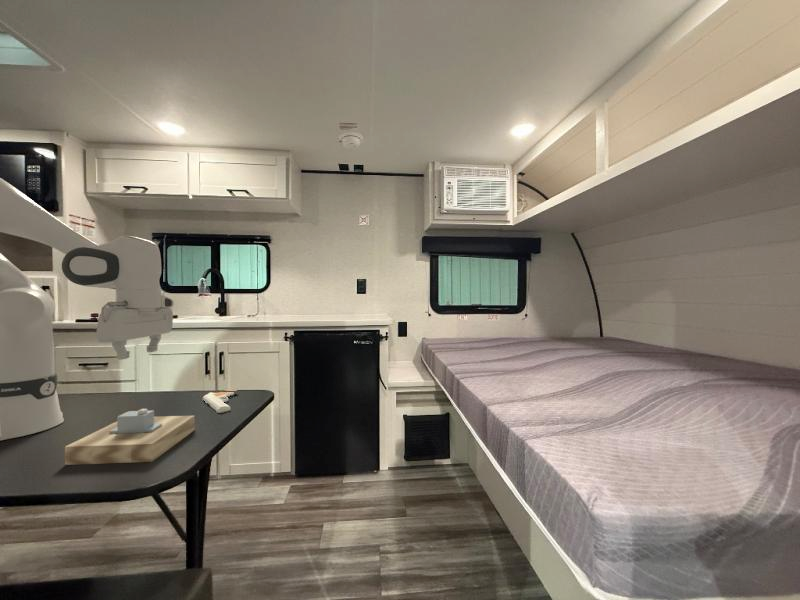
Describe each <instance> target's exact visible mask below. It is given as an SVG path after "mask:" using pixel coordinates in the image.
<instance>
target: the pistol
mask: <svg viewBox="0 0 800 600" xmlns="http://www.w3.org/2000/svg"><path fill="white" fill-rule="evenodd" d="M225 391H237V390H235V389H232V388H229V389H226V390H225ZM233 394H234V392H222V391H220V392H211V391H210V392H208V393H207V394H205V395H204V396H202V401H203V400H204V401H205V402H204V401H203V402H204V403H206V404H207V403H208V404H209V405H208V404H207V405H208V406H210V407H211V408H212V409H213V410H215V411H216V412H215V413H219V414H221V413H225V412H229V411H231V406H230V405H229V404H227V402H226V401H228V400H229V398H228V397H227V396H230V395H233ZM224 402H226V403H224ZM228 402H229V401H228Z"/></svg>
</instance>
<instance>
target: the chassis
mask: <svg viewBox="0 0 800 600" xmlns="http://www.w3.org/2000/svg"><path fill="white" fill-rule="evenodd" d="M195 417H196V416H195V415H167V416H166V415H165V416H154V424H160V423H162V426H161V427H159V428H158V429H156V430H155V431H153V432H147V433H133V434H118V433H110V434H109V431H110V430H112V429H114V428H116V427H117V421H114V422H112V423H110V424H109V425H106V426H105V427H103V428H100V429H98V430H96V431H94V432H92V433H90V434H88V435H86V436H84V437H81V438H80V439H78V440H76V441H74V442H71V443H70V444H66V446H64V465H65V466H69V465H70V466H71V465H72V466H73V465H95V464H96V465H97V464H98V465H99V464H124V463H125V464H126V463H149V462H151V463H152V462H154V461H155V460H157V459H158V458H159V457H161V456H162V455H163V454H164V453H166V452H167V451H168V450H170V449H171V448H173V447H174V446H175V445H177V444H178V443H179V442H181V441H183V439H184V438H186V437H187V436H189V435H190V434H191V433H193V432H194V431H195V429H196V428H195V427H196V425H195V423H196V421H195V420H196V419H195Z"/></svg>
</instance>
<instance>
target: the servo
mask: <svg viewBox="0 0 800 600" xmlns="http://www.w3.org/2000/svg"><path fill="white" fill-rule="evenodd" d="M154 417H155V410H148V408H140V409H139V410H129V411H126V412H124V413H122V414H119V415H118V416H117V417H116V418H117V421H116V422H117V427H116V428H114V429H112V430H110V431H109V434H110V433H118V434H133V433H147V432H153V431H155V430H156V429H158V428H159V427H161V426H162V423H160V424H154Z"/></svg>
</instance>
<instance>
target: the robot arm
mask: <svg viewBox="0 0 800 600" xmlns="http://www.w3.org/2000/svg"><path fill="white" fill-rule="evenodd" d="M0 233H3V234H6V235H12V236H15V237H20V238H24V239H26V240H31V241H34V242H38V243H41V244H43V245H46V246H49V247H51V248H53V249H55V250H57V251H59V252H61V253H62V254H63V255H64V256H63V258H62V260H61V270H62V273H63V275H64V276H65V278H66V279H67V280H68V281H70V282H71V283H73V284H75V285H80V286H82V287H89V288H100V289H101V288H104V289H112V290H115V301H109V302H106V304H104V305H103V306H102V307H101V311H100V313H99V314H98V315H99V316H98V318H97V319H98V320H97V324H96V325H97V326H96V332H95V333H96V340H97V341H98V342H99V343H111V346H112V347H113V349H114V351H115V352H116V359H117V360H118V361H119V360H122V361H123V360H127V359H129V358H130V357H131V356H130V352H131V351H130V350H127V348H126V346H127V341H129V340H136V339H141V338H147V337H149V339H150V341H149V343H148V345H146V352H147V353H155V352H158V346H159V343H160V341H161V340H162V335H165V334H169V333H171V331H172V329H173V323H174V321H173V320H174V314H173V313H174V312H173V309H172V308H173V307H174V305H175V304H174V303H175V301H174V299H172V298H170V297H168V296H166V295H164V294H162V287H161V285H160V278H161V275H162V258H161V252H160V248H159V246H158V245H157V244H156V243H155V242H153V241H151V240H148V239H144V238H140V237H137V236H132V235H121V236H119V237H117V238H115V239H114V240H112V241H108V242H106V243H101V244H98V242H95V241H93V240H92V239H91V238H88V237H87V236H85V235H83V234H82V233H80V232H79V231H77V230H75V229H73V228H72V227H70V226H69V225H67V224H66V223H64V222H63V221H61V220H60V219H58V218H57V217H56V216H55V215H53V214H51V213H50V212H48V211H47V210H46V209H45V208H43V207H42V206H41V205H39V204H38V203H37V202H35V201H34V200H32V199H31V198H30V197H29V196H27V195H26V194H25V193H23V192H22V191H20V190H19V189H18V188H16V187H15V186H13V185H12V184H10V183H9V182H7V180H4V179H3V178H1V177H0ZM55 312H56V303H55V300H54V299H53V297H52V296H50V295H49V294H48V293H47V292H46V291H45V290H44V289H43V288H41V287H40V285H38V284H37V283H36V282H34V281H33V280H32V279H31V278H30V277H29V276H28V275H27V274H25V273H24V272H23V271H22V270H21V269H19V268H18V267H17V266H16V265H15V264H13V263H12V262H11V261H10V260H9V259H8V258H7V257H5V256H4V254H3V253H1V252H0V442H1V441H4V440H10V439H14V438H19V437H24V436H29V435H32V434H36V433H40V432H44V431H46V430H49V429H52V428H54V427H56V426H59V425H61V424H63V422H64V421H65V419H64V417H63V415H64V414H63V411H61V410H62V409H61V407H60V401H59V396H58V391H57V386H58V374H57V373H56V372H55V369H56V367H55V364H56V363H55V361H56V360H55V342H54V330H53V328H54V327H53V315H54V313H55Z"/></svg>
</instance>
